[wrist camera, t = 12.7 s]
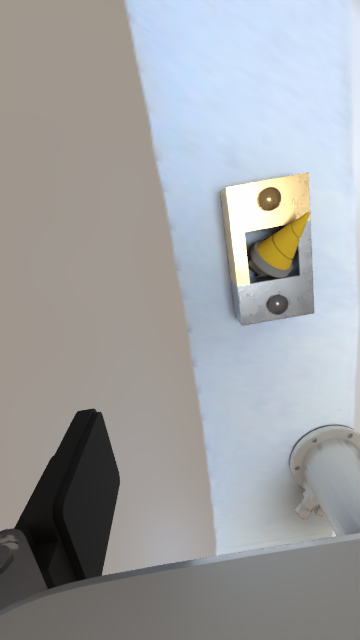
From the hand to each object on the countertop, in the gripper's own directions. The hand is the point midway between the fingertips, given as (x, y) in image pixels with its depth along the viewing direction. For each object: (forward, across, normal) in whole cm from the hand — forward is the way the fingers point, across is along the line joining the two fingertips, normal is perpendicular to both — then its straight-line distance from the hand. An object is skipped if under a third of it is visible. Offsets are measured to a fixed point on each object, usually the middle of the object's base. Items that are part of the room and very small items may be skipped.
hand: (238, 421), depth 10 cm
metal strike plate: (+30, -10, -2) cm, 32 cm away
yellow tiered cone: (+30, -11, -1) cm, 32 cm away
